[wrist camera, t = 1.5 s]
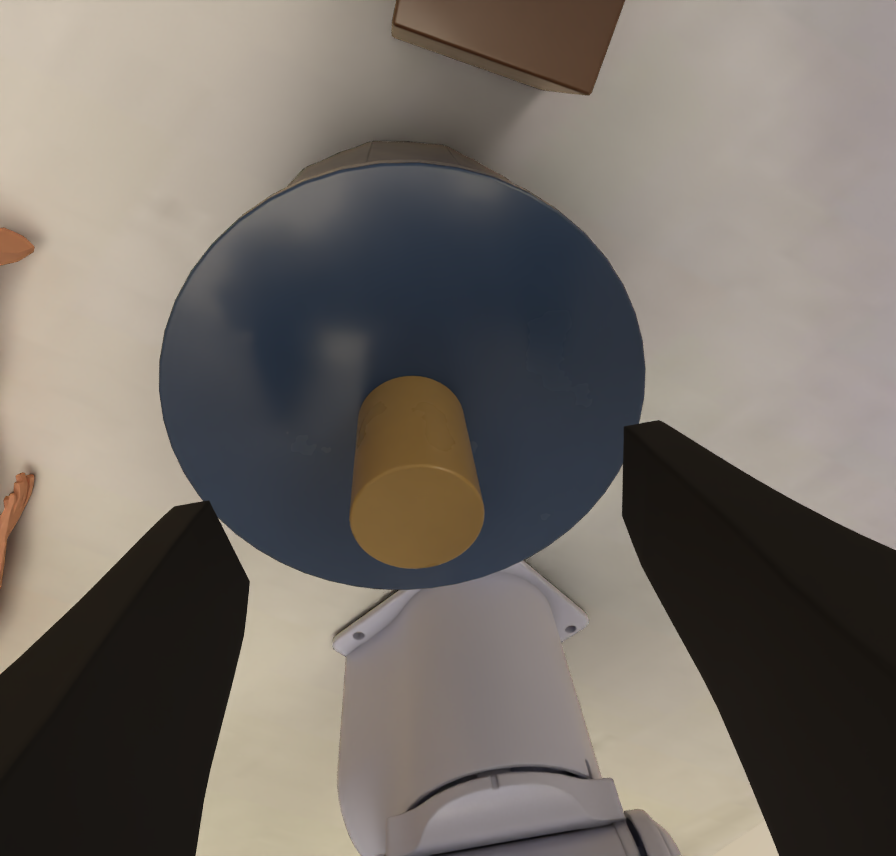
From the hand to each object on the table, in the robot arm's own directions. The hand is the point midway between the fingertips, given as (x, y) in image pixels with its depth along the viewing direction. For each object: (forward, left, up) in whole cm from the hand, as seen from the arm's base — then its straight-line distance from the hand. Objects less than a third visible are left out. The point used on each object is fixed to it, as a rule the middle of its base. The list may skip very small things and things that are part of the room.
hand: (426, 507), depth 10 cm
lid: (0, 0, -4) cm, 4 cm away
